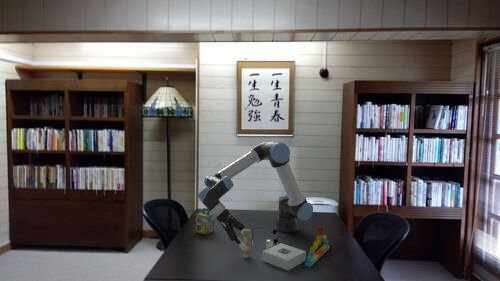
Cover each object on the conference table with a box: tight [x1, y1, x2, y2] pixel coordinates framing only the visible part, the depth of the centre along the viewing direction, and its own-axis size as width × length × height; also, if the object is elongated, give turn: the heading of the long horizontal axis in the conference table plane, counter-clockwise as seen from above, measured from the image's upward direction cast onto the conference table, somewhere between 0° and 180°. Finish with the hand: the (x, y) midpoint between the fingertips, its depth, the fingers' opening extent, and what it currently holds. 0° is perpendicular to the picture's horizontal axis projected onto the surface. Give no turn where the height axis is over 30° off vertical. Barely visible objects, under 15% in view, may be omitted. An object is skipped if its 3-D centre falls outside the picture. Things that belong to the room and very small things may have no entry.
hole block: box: [261, 243, 307, 271], centre depth 173 cm, size 16×16×5 cm
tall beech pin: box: [242, 228, 252, 259], centre depth 176 cm, size 4×4×14 cm
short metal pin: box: [265, 238, 274, 250], centre depth 188 cm, size 4×4×5 cm
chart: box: [304, 227, 331, 268], centre depth 179 cm, size 30×3×15 cm, turn 149°
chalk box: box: [194, 207, 216, 236], centre depth 213 cm, size 9×9×15 cm
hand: (247, 243), depth 176 cm, fingers open, 13 cm apart
